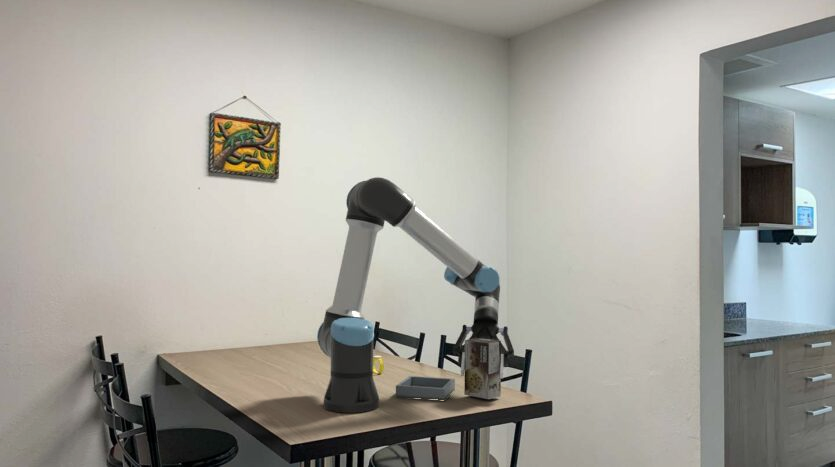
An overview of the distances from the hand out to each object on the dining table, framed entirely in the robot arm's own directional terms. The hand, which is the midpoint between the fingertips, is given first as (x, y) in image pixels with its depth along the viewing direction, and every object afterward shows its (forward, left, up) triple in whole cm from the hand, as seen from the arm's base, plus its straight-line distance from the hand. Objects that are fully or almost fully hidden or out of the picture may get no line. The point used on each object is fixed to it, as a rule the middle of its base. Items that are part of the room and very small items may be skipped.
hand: (481, 374), depth 176 cm
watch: (+28, +41, -8) cm, 50 cm away
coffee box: (+3, 0, -7) cm, 7 cm away
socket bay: (+3, +17, -7) cm, 19 cm away
